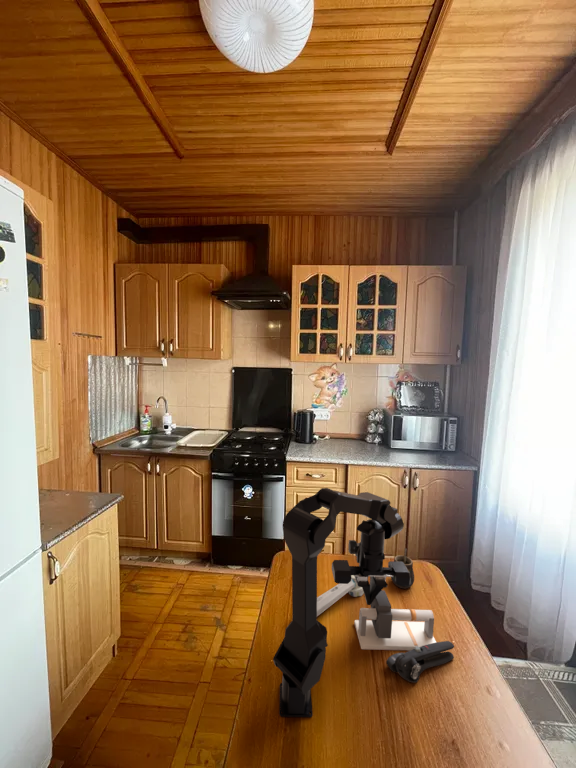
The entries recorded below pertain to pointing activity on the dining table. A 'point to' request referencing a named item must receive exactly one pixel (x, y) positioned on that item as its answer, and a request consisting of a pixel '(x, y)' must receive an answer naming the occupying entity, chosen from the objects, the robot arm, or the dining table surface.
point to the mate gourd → (409, 565)
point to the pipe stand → (396, 629)
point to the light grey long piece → (338, 594)
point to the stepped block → (382, 615)
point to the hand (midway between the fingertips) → (368, 603)
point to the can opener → (420, 659)
